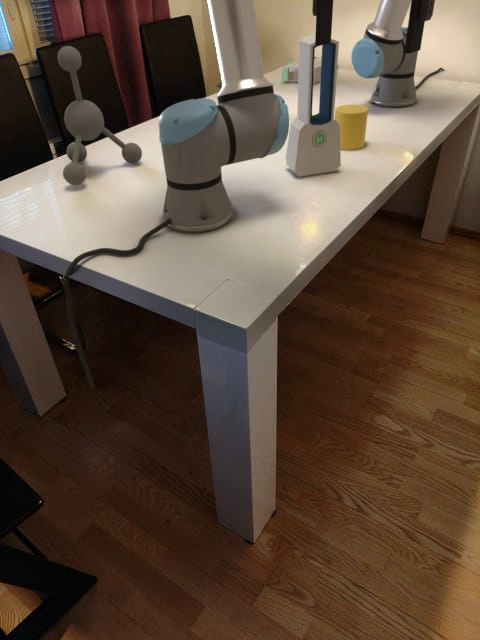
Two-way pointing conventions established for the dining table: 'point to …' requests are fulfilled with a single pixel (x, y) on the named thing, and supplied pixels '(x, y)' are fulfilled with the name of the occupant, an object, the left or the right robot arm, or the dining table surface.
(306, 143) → the electronic device
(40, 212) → the dining table surface
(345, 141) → the canister
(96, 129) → the molecular model
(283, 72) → the decorative block
